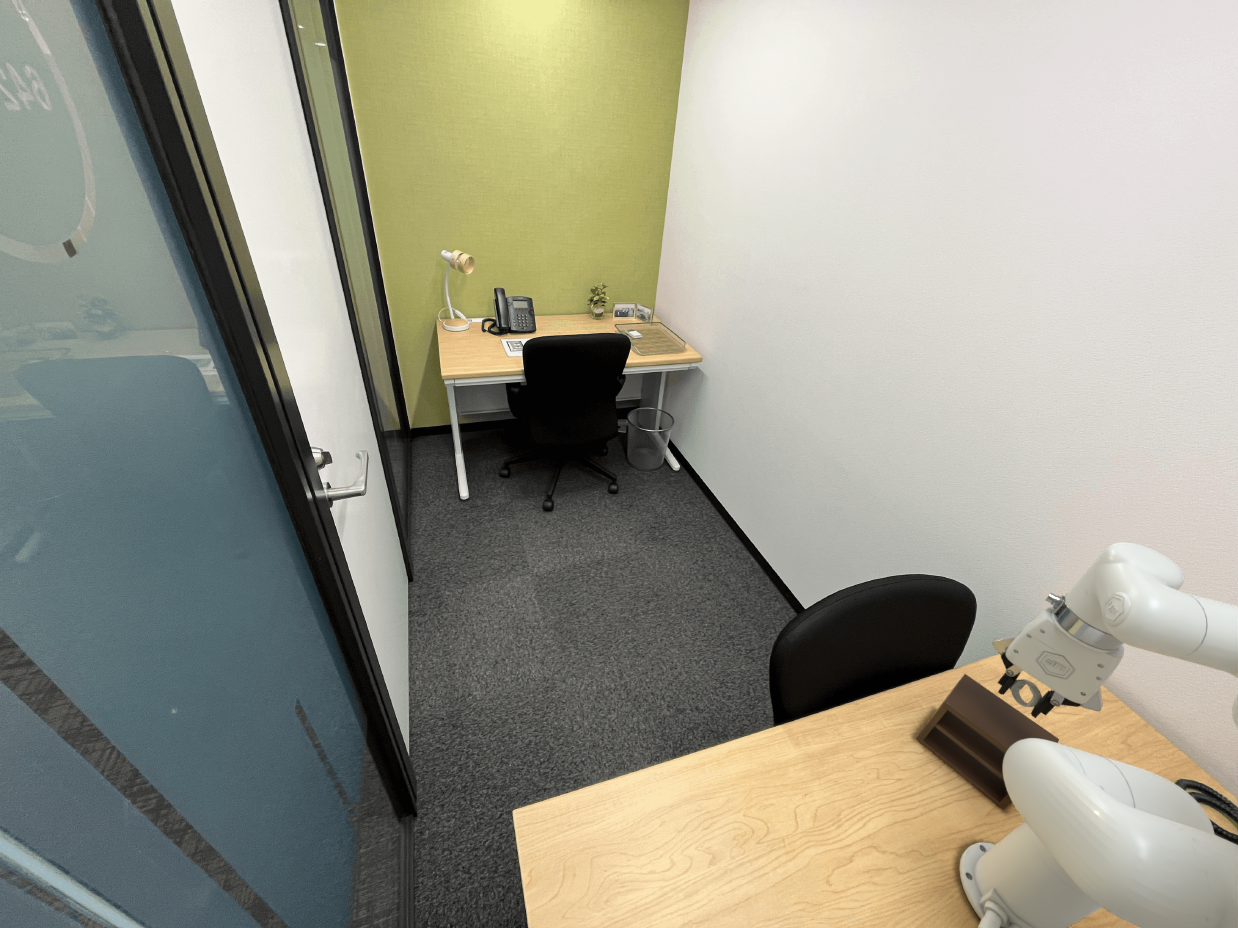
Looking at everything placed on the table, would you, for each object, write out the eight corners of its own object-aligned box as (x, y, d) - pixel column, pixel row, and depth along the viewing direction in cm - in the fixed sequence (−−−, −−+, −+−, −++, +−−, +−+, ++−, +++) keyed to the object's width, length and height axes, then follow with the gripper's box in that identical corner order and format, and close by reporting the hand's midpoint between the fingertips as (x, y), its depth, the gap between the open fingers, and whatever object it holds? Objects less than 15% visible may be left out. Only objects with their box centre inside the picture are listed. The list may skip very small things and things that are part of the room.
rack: (1003, 810, 79) (1043, 774, 73) (915, 738, 88) (944, 701, 82) (1020, 774, 85) (1059, 739, 78) (936, 710, 93) (965, 673, 87)
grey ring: (1034, 711, 76) (1049, 696, 74) (1022, 712, 75) (1037, 697, 73) (1015, 690, 79) (1029, 674, 77) (1004, 691, 78) (1017, 675, 76)
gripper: (1012, 595, 70) (953, 673, 80) (1166, 683, 60) (1076, 759, 70) (1028, 574, 75) (970, 650, 85) (1174, 652, 64) (1089, 729, 74)
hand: (1019, 699), depth 77 cm, fingers closed on grey ring, 3 cm apart
